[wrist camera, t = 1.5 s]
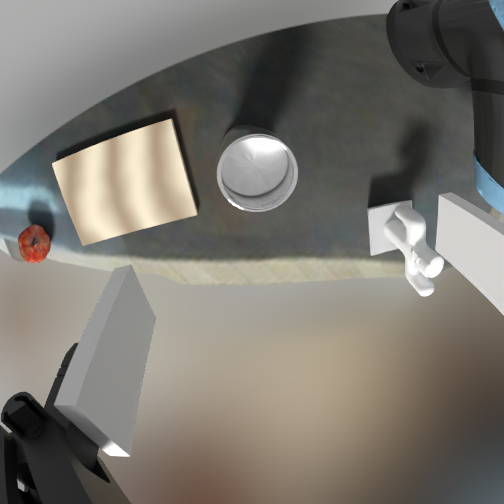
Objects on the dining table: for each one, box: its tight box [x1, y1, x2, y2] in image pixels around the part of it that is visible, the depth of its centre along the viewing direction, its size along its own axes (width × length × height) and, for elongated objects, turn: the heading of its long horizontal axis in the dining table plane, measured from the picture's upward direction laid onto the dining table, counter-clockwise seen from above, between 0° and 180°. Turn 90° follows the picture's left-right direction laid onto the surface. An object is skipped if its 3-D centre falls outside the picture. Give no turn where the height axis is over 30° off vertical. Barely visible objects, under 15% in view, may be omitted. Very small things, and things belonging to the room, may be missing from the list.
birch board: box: [52, 118, 198, 246], centre depth 37 cm, size 18×13×1 cm
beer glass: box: [216, 124, 298, 212], centre depth 31 cm, size 7×7×15 cm
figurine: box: [368, 200, 444, 296], centre depth 37 cm, size 7×9×15 cm
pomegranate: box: [18, 224, 51, 263], centre depth 37 cm, size 6×6×8 cm
